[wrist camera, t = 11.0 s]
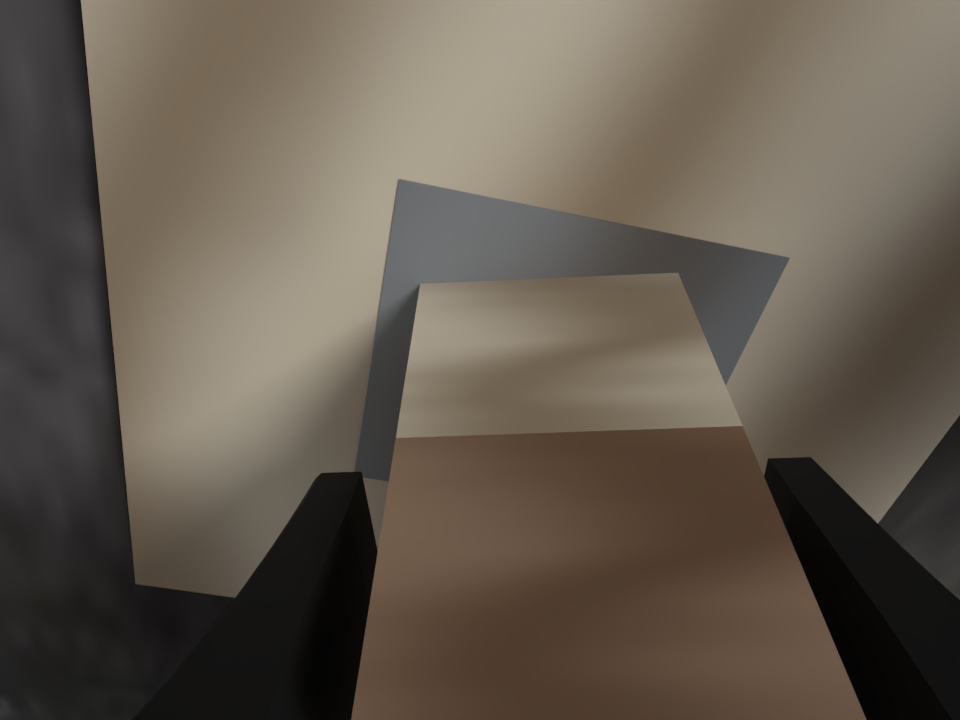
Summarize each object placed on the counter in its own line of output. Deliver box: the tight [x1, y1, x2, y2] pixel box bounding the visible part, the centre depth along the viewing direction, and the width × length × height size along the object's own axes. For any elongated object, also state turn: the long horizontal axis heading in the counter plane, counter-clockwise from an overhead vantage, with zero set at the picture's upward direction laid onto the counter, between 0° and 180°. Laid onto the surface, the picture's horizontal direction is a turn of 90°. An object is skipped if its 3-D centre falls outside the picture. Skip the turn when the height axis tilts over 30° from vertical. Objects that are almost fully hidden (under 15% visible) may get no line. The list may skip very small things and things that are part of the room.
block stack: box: [351, 273, 866, 720], centre depth 11 cm, size 4×4×8 cm
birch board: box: [81, 0, 960, 598], centre depth 15 cm, size 16×16×1 cm
